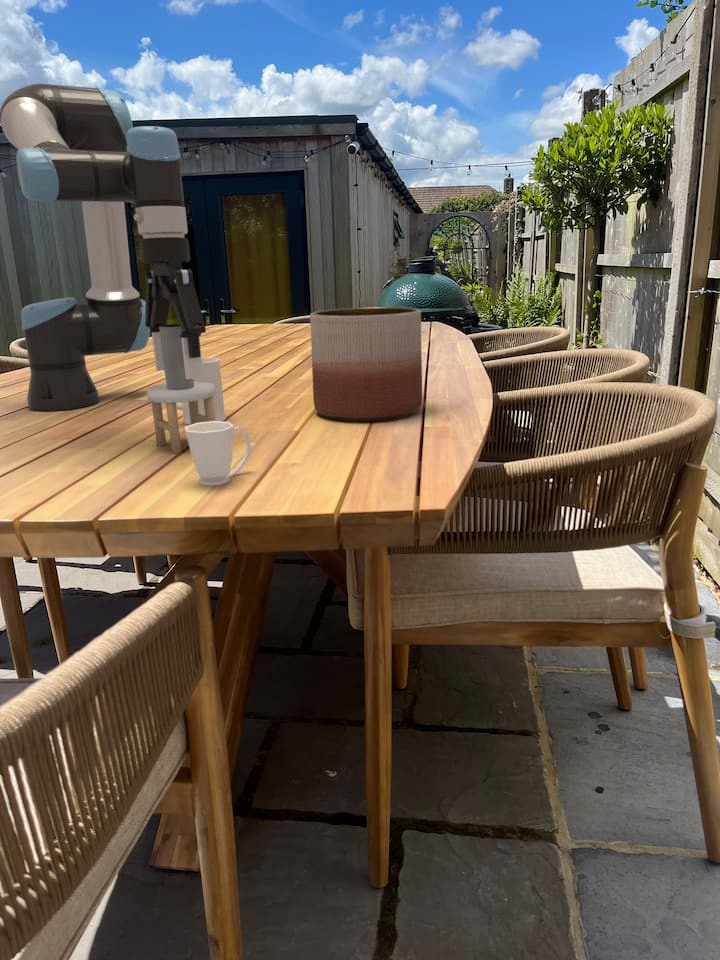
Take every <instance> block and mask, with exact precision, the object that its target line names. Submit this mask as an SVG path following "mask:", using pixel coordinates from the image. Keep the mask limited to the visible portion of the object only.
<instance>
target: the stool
mask: <svg viewBox="0 0 720 960" xmlns="http://www.w3.org/2000/svg"><path fill="white" fill-rule="evenodd" d="M146 392H147V393H146V394H147V400H148V401H149V402H151V410H152V416H153V417H152V418H153V425H154V432H155V442H156V446H157V447H161V446H162V447H163V445H164V446H166V445H167V439H166V431H168V432H169V440H170V450H171V454H180V453H182V444H181V436H180V425H179V418H178V409H177V408H176V404H177V403H178V404H180V403H182V402H188V404H189V413H190V422H191V425H192V424H195V423H200V422H209V421H215V412H214V402H213V396H214V395H215V392H214V385H213V384H211V383H206V382H194V387H192V388H188V389H181V390H171V389H167V386H166V384H164V383H163V384H158V385H155V386H152V387H151V386H150V387H149V388H147V389H146ZM203 399H204V409H205V416H204V415H201V414H199V410H198V401H197V400H203ZM162 404H165V408H166V415H167V416H166V417H167V420H164V416H163V405H162Z"/></svg>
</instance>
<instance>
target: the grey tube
mask: <svg viewBox="0 0 720 960" xmlns="http://www.w3.org/2000/svg"><path fill="white" fill-rule="evenodd" d="M159 329H160V337H161V345H162V354H163V362H164V370H163V371H164V377H165V380H166V386H167V389H171V390H181V389H188V388H192V387H194V379H186V375H185V366H184V357H183V348H182V339H181V338H180V334H181V332H183V331H182V329H181V326H180V324H179V323H174V324H166V325H161V326H159Z"/></svg>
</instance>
